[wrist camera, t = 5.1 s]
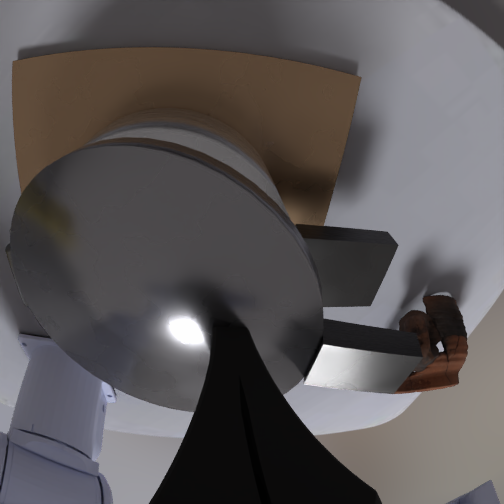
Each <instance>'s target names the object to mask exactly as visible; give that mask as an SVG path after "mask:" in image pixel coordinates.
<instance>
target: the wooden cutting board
mask: <svg viewBox="0 0 504 504" xmlns="http://www.w3.org/2000/svg"><path fill="white" fill-rule="evenodd" d="M360 82H361V77H359V76H355V75H351V74H348V73H344V72H340V71H336V70H332V69H328V68H324V67H320V66H315V65H311V64H306V63H301V62H296V61H291V60H285V59H280V58H274V57H268V56H261V55H254V54H247V53H239V52H230V51H220V50H208V49H193V48H170V47H132V48H108V49H94V50H83V51H73V52H65V53H57V54H50V55H44V56H38V57H32V58H27V59H22V60H17V61H13V66H12V105H13V126H14V139H15V150H16V159H17V167H18V174H19V181H20V188H21V194H22V192H23V191H24V190H25V188H26V187H27V185H28V184H29V183H30V181H31V180H32V179H33V178H34V177H35V176H36V175H37V174H38V173H39V172H40V171H41V170H43V169H44V168H45V167H46V166H48V165H50V164H51V163H53V162H55V161H56V160H58V159H60V158H61V157H63V156H65V155H67V154H69V153H70V152H72V151H74V150H76V149H78V148H80V147H82V146H85V145H88V144H91V143H94V142H97V141H101V140H107V139H114V138H121V137H133V138H151V139H157V140H162V141H168V142H173V143H177V144H180V145H183V146H186V147H189V148H192V149H195V150H197V151H200V152H203V153H205V154H207V155H209V156H211V157H213V158H215V159H217V160H219V161H221V162H223V163H225V164H227V165H229V166H230V167H232V168H233V169H235V170H236V171H238V172H239V173H241V174H242V175H244V176H245V177H246V178H248V179H249V180H251V181H252V182H254V183H255V184H256V185H257V186H258V187H259V188H261V189H262V190H263V191H264V192H265V193H266V194H267V195H268V196H269V197H270V198H272V199H273V200H274V201H275V202H276V203H277V204H278V205H279V207H280V208H281V209H282V210H283V211H284V212H285V214H286V215H287V216H288V217H289V218H290V220H291V221H292V222H293V223H294V225H295V226H296V228H297V229H298V231H299V233H300V234H301V236H302V237H303V239H304V241H305V242H306V244H307V246H308V248H309V250H310V252H311V255H312V257H313V259H314V262H315V264H316V267H317V270H318V274H319V278H320V283H321V287H322V300H323V307H354V306H371V304H372V302H373V300H374V298H375V296H376V293H377V291H378V289H379V287H380V285H381V283H382V281H383V279H384V277H385V274H386V272H387V270H388V268H389V266H390V263H391V261H392V259H393V257H394V254H395V252H396V250H397V247H398V244H397V243H396V241H395V240H394V239H393V238H392V236H391V235H390V234H389V233H388V232H384V231H374V230H363V229H353V228H342V227H330V226H324V222H325V219H326V215H327V212H328V208H329V205H330V201H331V198H332V194H333V191H334V187H335V183H336V180H337V176H338V172H339V168H340V165H341V161H342V157H343V153H344V149H345V145H346V141H347V137H348V133H349V129H350V125H351V121H352V117H353V113H354V108H355V104H356V100H357V95H358V91H359V86H360ZM10 234H11V229H10Z"/></svg>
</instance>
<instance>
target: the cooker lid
mask: <svg viewBox="0 0 504 504" xmlns="http://www.w3.org/2000/svg"><path fill="white" fill-rule="evenodd" d="M5 250H6V254H7V257H8V260H9V263H10V267H11V270H12V273H13V276H14V278H15V281H16V284H17V287H18V290H19V292H20V295H21V298H22V300H23V303H24V305H25V306H27V307H29V308H30V309H31V311H32V313H33V314H34V316H35V317H36V319H37V320H38V322H39V323H40V325H41V326H42V327H43V329H44V330H45V331H46V332H47V334H48V335H49V336H50V337H51V338H52V340H53V341H54V342H55V343H56V344H57V345H58V346H59V347H60V348H61V349H62V350H63V351H64V352H65V353H66V354H67V355H68V356H69V357H70V358H72V359H73V360H74V361H75V362H76V363H78V364H79V365H80V366H81V367H83V368H84V369H85V370H87V371H88V372H90V373H91V374H93V375H94V376H95V377H97V378H98V379H100V380H102V381H103V382H105V383H107V384H109V385H110V386H112V387H114V388H116V389H118V390H120V391H122V392H124V393H126V394H129V395H131V396H133V397H136V398H138V399H141V400H144V401H146V402H149V403H152V404H156V405H159V406H163V407H167V408H171V409H177V410H182V411H189V412H195V409H196V406H197V403H198V400H199V397H200V394H201V391H202V388H203V385H204V381H205V377H206V373H207V369H208V365H209V359H210V348H211V336H212V329H213V328H214V327H216V326H218V327H246V328H247V329H248V330H249V331H250V334H251V336H252V339H253V341H254V344H255V346H256V348H257V350H258V352H259V354H260V356H261V358H262V360H263V362H264V364H265V366H266V368H267V370H268V371H269V373H270V375H271V377H272V378H273V380H274V382H275V384H276V385H277V387H278V388H279V390H280V392H281V393H282V395H283V394H285V393H287V392H288V391H289V390H291V389H292V388H293V387H294V386H296V385H297V384H298V383H299V382H300V381H301V380H302V379H303V378H304V384H305V385H312V386H319V387H327V388H335V389H344V390H353V391H363V392H375V393H388V394H394V393H395V392H396V391H397V389H398V388H399V387H400V386H401V385H402V383H403V382H404V381H405V380H406V379H407V377H408V376H409V375H410V374H411V372H412V371H413V370H414V369H415V367H416V366H417V365H418V363H419V362H420V361H421V359H422V358H423V355H422V351H421V348H420V344H419V340H418V337H417V334H416V333H413V332H405V331H398V330H392V329H385V328H378V327H372V326H365V325H359V324H353V323H347V322H341V321H335V320H329V319H323V300H322V287H321V283H320V278H319V274H318V270H317V267H316V264H315V262H314V259H313V257H312V255H311V252H310V250H309V248H308V246H307V244H306V242H305V241H304V239H303V237H302V236H301V234H300V233H299V231H298V229H297V228H296V226H295V225H294V223H293V222H292V221H291V220H290V218H289V217H288V216H287V215H286V214H285V212H284V211H283V210H282V209H281V208H280V207H279V205H278V204H277V203H276V202H275V201H274V200H273V199H272V198H270V197H269V196H268V195H267V194H266V193H265V192H264V191H263V190H262V189H261V188H259V187H258V186H257V185H256V184H255V183H254V182H252V181H251V180H249V179H248V178H246V177H245V176H244V175H242V174H241V173H239V172H238V171H236V170H235V169H233V168H232V167H230V166H229V165H227V164H225V163H223V162H221V161H219V160H217V159H215V158H213V157H211V156H209V155H207V154H205V153H203V152H200V151H197V150H195V149H192V148H189V147H186V146H183V145H180V144H177V143H173V142H168V141H162V140H157V139H151V138H133V137H121V138H114V139H107V140H101V141H97V142H94V143H91V144H88V145H85V146H82V147H80V148H78V149H76V150H74V151H72V152H70V153H69V154H67V155H65V156H63V157H61V158H60V159H58V160H56V161H55V162H53V163H51V164H50V165H48V166H46V167H45V168H44V169H43V170H41V171H40V172H39V173H38V174H37V175H36V176H35V177H34V178H33V179H32V180H31V181H30V183H29V184H28V185H27V187H26V188H25V190H24V191H23V192H22V195H21V197H20V199H19V201H18V203H17V205H16V208H15V211H14V215H13V219H12V224H11V234H10V244H8V245H7V247H6V249H5Z"/></svg>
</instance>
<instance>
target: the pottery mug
mask: <svg viewBox="0 0 504 504" xmlns="http://www.w3.org/2000/svg"><path fill="white" fill-rule="evenodd" d="M423 303H424V305H425V307H426V313H427V314H426V313H424V312H422V311H418V310H411V311H410V312H408V313H407V314H406V315H405V316H404V317H402V318H401V320H400V321H399V325H400V328H399V331H405V332H413V333H416V334H417V337H418V340H419V344H420V348H421V351H422V355H423V358H422V359H421V361H420V362H419V363H418V365H417V366H416V367H415V369H414V370H413V371H412V372H411V374H410V375H409V376H408V377H407V379H406V380H405V381H404V382H403V383H402V385H401V386H400V387H399V388H398V389H397V391H396V392H395V393H394V394H402V393H413V392H423V391H430V390H436V389H442V388H447V387H452V386H455V385H457V384H458V383H459V379H458V372H459V371H460V369H461V368H462V366H463V364H464V362H465V359H466V357H467V354H468V352H467V349H468V345H467V333H466V330H465V326H464V323H463V316H462V315H461V312H460V311H459V308H458V306H457V303H456V300H455V299H454V298H451V297H449V296H444V295H435V296H426V297H424V298H423ZM440 341H441V342H442V345H443V348H444V351H443V352H439V349H438V348H437V346H436V344H437V343H438V342H440ZM414 371H416V372H414Z"/></svg>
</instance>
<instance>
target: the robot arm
mask: <svg viewBox="0 0 504 504" xmlns="http://www.w3.org/2000/svg"><path fill="white" fill-rule="evenodd" d="M18 340H19V342H20V344H21V346H22V348H23V350H24V352H25V353H26V355H27V357H28V359H29V364H28V367H27V370H26V373H25V376H24V379H23V382H22V385H21V389H20V392H19V395H18V399H17V402H16V406H15V410H14V413H13V417H12V421H11V425H10V429H9V432H8V433H7V434H4V433H3V432H0V504H113V498H112V492H111V489H110V487H109V484H108V483H107V480H106V479H105V477H104V476H103V475H102V474H101V473H99V472H98V469H99V463H97V462H95V461H96V459H97V458H98V456H99V454H100V452H101V447H102V438H103V429H104V421H105V413H106V406H107V402H110V403H115V402H116V396H115V393H114V390H113V388H112V386H110V385H109V384H107V383H105V382H103V381H102V380H100V379H98V378H97V377H95V376H94V375H93V374H91V373H90V372H88V371H87V370H85V369H84V368H83V367H81V366H80V365H79V364H78V363H76V362H75V361H74V360H73V359H72V358H70V357H69V356H68V355H67V354H66V353H65V352H64V351H63V350H62V349H61V348H60V347H59V346H58V345H57V344H56V343H55V342H54V341H53V340H52V339H50V338H44V337H37V336H31V335H25V334H20V335H19V337H18ZM149 504H382V502H381V500H380V498H379V496H378V494H377V492H376V490H374V489H373V488H372V487H370V486H369V485H367V484H366V483H365V482H363V481H362V480H361V479H359V478H358V477H357V476H356V475H354V474H353V473H352V472H351V471H350V470H348V469H347V468H346V467H345V466H344V465H343V464H342V463H340V462H339V461H338V460H337V459H336V458H335V457H334V456H333V455H332V454H331V453H330V452H329V451H328V450H327V449H326V448H325V447H324V446H323V445H322V444H321V443H320V442H319V441H318V440H317V439H316V438H315V436H314V435H313V434H312V433H311V432H310V431H309V430H308V428H307V427H306V426H305V425H304V423H303V422H302V421H301V420H300V418H299V417H298V416H297V415H296V413H295V412H294V411H293V409H292V408H291V406H290V405H289V404H288V402H287V401H286V399H285V398H284V396H283V395H282V393H281V392H280V390H279V388H278V387H277V385H276V384H275V382H274V380H273V378H272V377H271V375H270V373H269V371H268V370H267V368H266V366H265V364H264V362H263V360H262V358H261V356H260V354H259V352H258V350H257V348H256V346H255V344H254V341H253V339H252V336H251V334H250V331H249V330H248V329H247V328H246V327H218V326H216V327H214V328H213V329H212V336H211V348H210V359H209V365H208V369H207V373H206V377H205V381H204V385H203V388H202V391H201V394H200V397H199V400H198V403H197V406H196V409H195V412H194V415H193V417H192V420H191V422H190V425H189V427H188V430H187V432H186V434H185V437H184V439H183V441H182V443H181V446H180V448H179V450H178V452H177V454H176V456H175V458H174V460H173V462H172V464H171V466H170V468H169V470H168V472H167V473H166V475H165V477H164V479H163V481H162V483H161V484H160V487H159V488H158V490H157V491H156V493H155V495H154V496H153V498H152V499H151V501H150V503H149ZM446 504H500V502H499V499H498V497H497V494H496V491H495V488H494V486H493V483H492V481H491V480H489V481H487V482H486V483H484V484H482V485H480V486H479V487H477V488H475V489H474V490H472V491H470V492H469V493H466V494H464V495H462V496H460V497H458V498H456V499H454V500H452V501H450V502H448V503H446Z"/></svg>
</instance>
